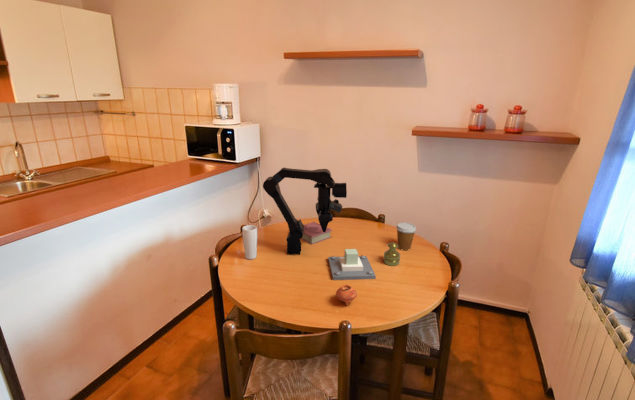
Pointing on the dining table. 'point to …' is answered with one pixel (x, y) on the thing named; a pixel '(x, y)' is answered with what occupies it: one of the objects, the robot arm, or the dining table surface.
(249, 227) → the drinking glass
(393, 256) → the green tiered ornament
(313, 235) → the book
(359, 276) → the tower base
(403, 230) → the disposable coffee cup
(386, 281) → the dining table surface
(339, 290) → the pot
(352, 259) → the sage brick
